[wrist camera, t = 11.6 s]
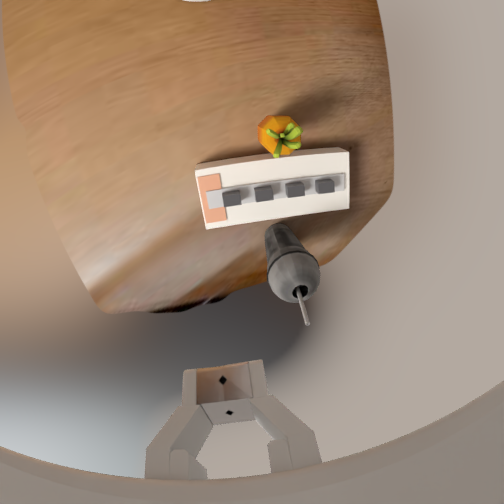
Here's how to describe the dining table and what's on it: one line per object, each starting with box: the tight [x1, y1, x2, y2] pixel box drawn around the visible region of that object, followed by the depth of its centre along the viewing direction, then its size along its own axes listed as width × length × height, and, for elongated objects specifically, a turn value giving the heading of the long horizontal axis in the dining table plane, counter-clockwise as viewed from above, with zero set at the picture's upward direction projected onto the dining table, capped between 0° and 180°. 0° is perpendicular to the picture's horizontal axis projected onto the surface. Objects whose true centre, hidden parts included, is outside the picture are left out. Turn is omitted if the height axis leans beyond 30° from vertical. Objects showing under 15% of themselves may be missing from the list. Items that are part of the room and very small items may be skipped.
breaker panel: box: [195, 147, 349, 229], centre depth 41 cm, size 9×22×6 cm, turn 97°
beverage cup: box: [265, 223, 320, 325], centre depth 40 cm, size 7×7×20 cm
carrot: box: [258, 116, 303, 158], centre depth 33 cm, size 5×5×15 cm
